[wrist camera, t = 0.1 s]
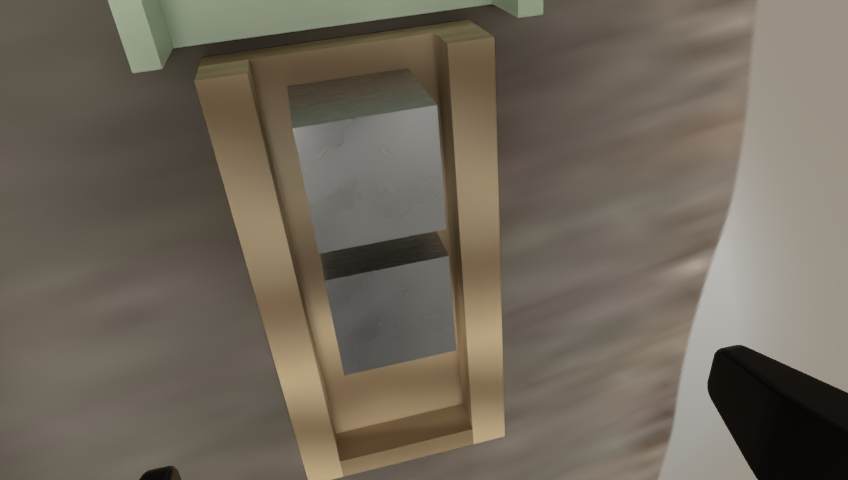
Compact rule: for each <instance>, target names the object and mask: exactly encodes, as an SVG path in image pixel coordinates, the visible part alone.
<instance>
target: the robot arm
mask: <svg viewBox="0 0 848 480" xmlns="http://www.w3.org/2000/svg"><path fill="white" fill-rule="evenodd" d="M708 392H709V395H710V397H711V400H712V401H713V403H714V405H715V407H716V408H717V410H718V412H719V414H720V415H721V417H722V419H723V421H724V422H725V424H726V426H727V428H728V429H729V431H730V433H731V435H732V436H733V438H734V440H735V442H736V444H737V445H738V447H739V449H740V451H741V452H742V454H743V456H744V458H745V459H746V461H747V463H748V465H749V466H750V468H751V469H752V471H753V473H754V474H755V476H756V478H757V479H758V480H848V393H847V392H844V391H842V390H840V389H838V388H835V387H833V386H831V385H829V384H827V383H825V382H822V381H820V380H818V379H816V378H814V377H811V376H809V375H807V374H804V373H803V372H800V371H798V370H796V369H794V368H791V367H789V366H787V365H785V364H783V363H780V362H778V361H776V360H774V359H772V358H769V357H767V356H765V355H763V354H761V353H758V352H756V351H754V350H752V349H749V348H747V347H745V346H742V345H735V346H730V347H725V348H721V349H719V350H717V352H716V353H715V355H714V359H713V363H712V367H711V371H710V375H709V379H708ZM139 480H181V477H180V475H179V472H178V470H177V469H176V468H175V467H174V466H167V467H162V468H157V469H153V470H149V471H147V472H145V473H144V474H143V475H142V477H141V478H140V479H139Z"/></svg>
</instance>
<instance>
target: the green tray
mask: <svg viewBox="0 0 848 480" xmlns="http://www.w3.org/2000/svg"><path fill="white" fill-rule="evenodd" d="M108 2H109V5H110V8H111V11H112V14H113V17H114V20H115V23H116V26H117V29H118V32H119V35H120V38H121V41H122V44H123V47H124V50H125V53H126V56H127V59H128V62H129V65H130V68H131V71H132V73H139V72H145V71H152V70H159V69H163V67H164V65H165V63H166V61H167V59H168V57H169V55H170V54H171V52H172V50H173V48H179V47H186V46H194V45H201V44H208V43H215V42H222V41H230V40H237V39H244V38H251V37H258V36H266V35H273V34H280V33H287V32H295V31H302V30H309V29H316V28H323V27H331V26H338V25H345V24H352V23H359V22H367V21H374V20H381V19H388V18H395V17H403V16H410V15H417V14H424V13H432V12H439V11H446V10H453V9H460V8H468V7H475V6H482V5H489V4H493V5H495V6H496V7H498V8H500V9H502V10H504V11H506V12H508V13H510V14H511V15H513V16H515V17H517V18H523V17H530V16H537V15H543V0H108Z"/></svg>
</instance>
